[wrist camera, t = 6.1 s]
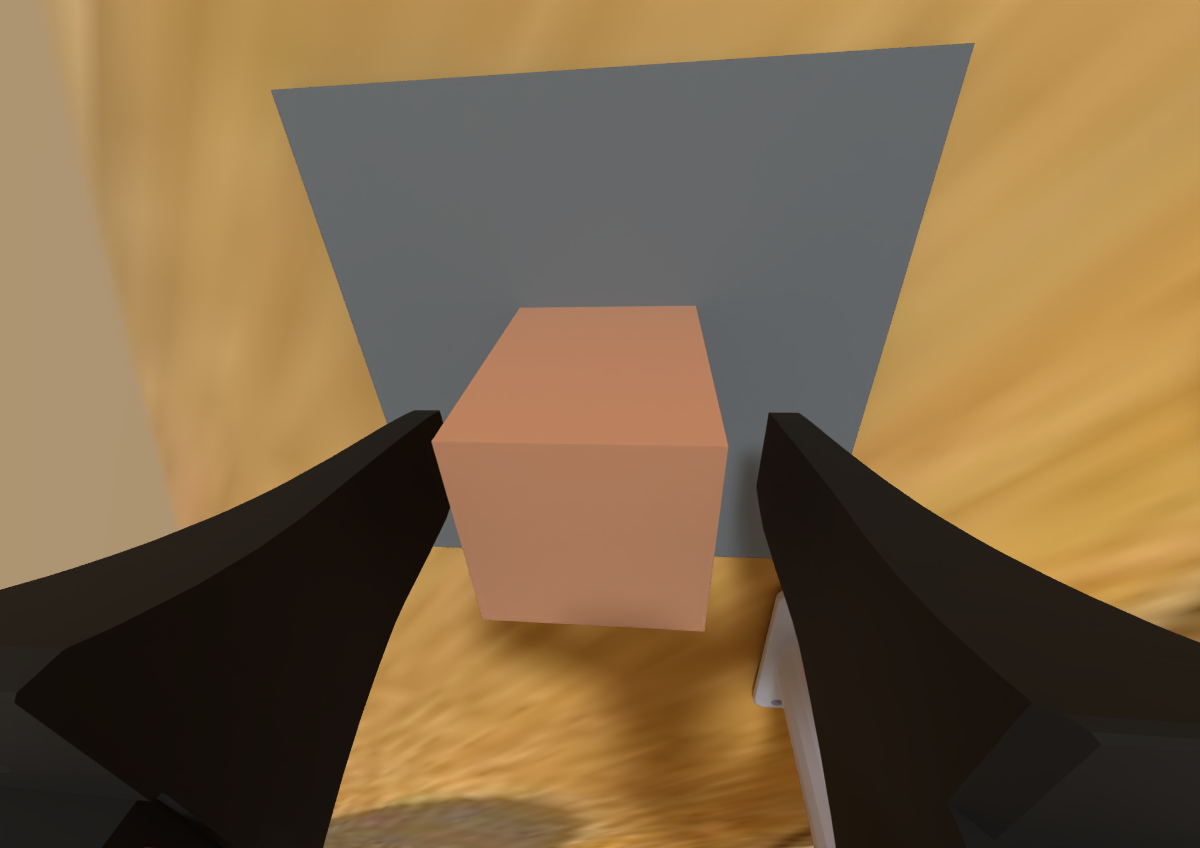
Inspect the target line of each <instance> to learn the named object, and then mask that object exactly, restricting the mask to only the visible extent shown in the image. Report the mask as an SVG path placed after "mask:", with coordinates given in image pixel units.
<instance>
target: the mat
mask: <svg viewBox="0 0 1200 848" xmlns="http://www.w3.org/2000/svg"><path fill="white" fill-rule="evenodd" d="M974 44H975V43H967V44H952V45H937V46H922V47H907V48H892V49H877V50H862V51H847V52H832V53H817V54H802V55H787V56H772V57H757V58H742V59H727V60H712V61H698V62H683V63H668V64H653V65H638V66H623V67H608V68H593V69H578V70H563V71H548V72H533V73H518V74H503V75H488V76H473V77H458V78H444V79H429V80H414V81H399V82H384V83H369V84H354V85H339V86H324V87H309V88H294V89H279V90H271V92H272V95H273V97H274V100H275V103H276V106H277V109H278V112H279V115H280V117H281V120H282V123H283V126H284V129H285V132H286V135H287V138H288V140H289V143H290V146H291V149H292V152H293V155H294V158H295V160H296V163H297V166H298V169H299V172H300V175H301V178H302V181H303V183H304V186H305V189H306V192H307V195H308V198H309V201H310V203H311V206H312V209H313V212H314V215H315V218H316V221H317V224H318V226H319V229H320V232H321V235H322V238H323V241H324V244H325V246H326V249H327V252H328V255H329V258H330V261H331V264H332V267H333V269H334V272H335V275H336V278H337V281H338V284H339V287H340V289H341V292H342V295H343V298H344V301H345V304H346V307H347V310H348V312H349V315H350V318H351V321H352V324H353V327H354V330H355V332H356V335H357V338H358V341H359V344H360V347H361V350H362V352H363V355H364V358H365V361H366V364H367V367H368V370H369V373H370V375H371V378H372V381H373V384H374V387H375V390H376V393H377V395H378V398H379V401H380V404H381V407H382V410H383V413H384V416H385V418H386V421H387V424H388V423H390V422H392V421H394V420H395V419H397V418H399V417H401V416H403V415H405V414H407V413H409V412H411V411H413V410H440V413H441V416H442V420H443V423H444V422H445V420H446V419H447V417H448V416H449V414H450V413H451V411H452V410H453V408H454V407H455V405H456V404H457V402H458V401H459V399H460V398H461V396H462V395H463V393H464V392H465V390H466V389H467V387H468V385H469V384H470V382H471V381H472V379H473V378H474V376H475V375H476V373H477V372H478V370H479V369H480V367H481V366H482V364H483V363H484V361H485V360H486V358H487V357H488V355H489V354H490V352H491V351H492V349H493V348H494V346H495V345H496V343H497V342H498V340H499V339H500V337H501V336H502V334H503V333H504V331H505V329H506V328H507V326H508V325H509V323H510V322H511V320H512V319H513V317H514V316H515V314H516V313H517V311H518V310H519V308H542V307H632V306H696V309H697V313H698V317H699V322H700V326H701V330H702V335H703V339H704V343H705V348H706V352H707V356H708V361H709V365H710V369H711V374H712V378H713V382H714V387H715V391H716V395H717V400H718V404H719V408H720V413H721V417H722V421H723V426H724V430H725V434H726V439H727V443H728V453H727V461H726V469H725V477H724V484H723V492H722V500H721V507H720V515H719V523H718V531H717V538H716V546H715V554H714V556H718V557H746V558H772V556H771V553H770V550H769V546H768V543H767V540H766V537H765V533H764V530H763V526H762V520H761V515H760V509H759V503H758V497H757V491H756V484H757V478H758V472H759V467H760V461H761V455H762V449H763V443H764V437H765V431H766V426H767V420H768V414H769V412H775V413H800V414H801V415H803V416H804V417H806V418H807V419H808V420H809V421H811V422H812V423H813V424H814V425H816V426H817V427H818V428H819V429H821V430H822V431H823V432H824V433H826V434H827V435H828V436H829V437H830V438H832V439H833V440H834V441H835V442H837V443H838V444H839V445H840V446H841V447H843V448H844V449H845V450H846V451H848V452H849V453H850V454H852V451H853V447H854V444H855V441H856V437H857V434H858V431H859V427H860V424H861V421H862V417H863V414H864V411H865V407H866V404H867V401H868V397H869V394H870V391H871V387H872V384H873V381H874V377H875V374H876V371H877V367H878V364H879V361H880V357H881V354H882V351H883V347H884V344H885V341H886V337H887V334H888V331H889V327H890V324H891V321H892V317H893V314H894V311H895V307H896V304H897V301H898V297H899V294H900V291H901V287H902V284H903V281H904V277H905V274H906V271H907V267H908V264H909V261H910V257H911V254H912V251H913V247H914V244H915V241H916V237H917V234H918V231H919V227H920V224H921V221H922V217H923V214H924V211H925V207H926V204H927V201H928V197H929V194H930V191H931V187H932V184H933V181H934V177H935V174H936V171H937V167H938V164H939V161H940V157H941V154H942V151H943V147H944V144H945V141H946V137H947V134H948V130H949V127H950V124H951V120H952V117H953V114H954V110H955V107H956V104H957V100H958V97H959V94H960V90H961V87H962V84H963V80H964V77H965V74H966V70H967V67H968V64H969V60H970V57H971V54H972V50H973V47H974ZM433 546H436V547H462V546H461V542H460V539H459V535H458V532H457V528H456V525H455V521H454V518H453V515H452V511H451V508H450V510H449V513H448V516H447V519H446V521H445V523H444V525H443V527H442V529H441V531H440V533H439V535H438V537H437V539H436V541H435V543H434V545H433Z"/></svg>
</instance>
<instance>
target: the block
mask: <svg viewBox="0 0 1200 848" xmlns="http://www.w3.org/2000/svg"><path fill="white" fill-rule="evenodd" d="M431 442H432V445H433V449H434V452H435V456H436V459H437V463H438V466H439V470H440V473H441V476H442V480H443V483H444V487H445V490H446V494H447V497H448V501H449V504H450V508H451V511H452V515H453V518H454V521H455V525H456V528H457V532H458V535H459V539H460V542H461V546H462V549H463V553H464V556H465V559H466V563H467V566H468V570H469V573H470V577H471V580H472V584H473V587H474V591H475V594H476V597H477V601H478V604H479V608H480V611H481V615H482V618H483V620H501V621H520V622H538V623H557V624H575V625H593V626H612V627H630V628H649V629H667V630H686V631H705V624H706V616H707V608H708V600H709V593H710V585H711V577H712V569H713V562H714V554H715V546H716V538H717V531H718V523H719V515H720V507H721V500H722V492H723V484H724V477H725V469H726V461H727V453H728V443H727V439H726V434H725V430H724V426H723V421H722V417H721V413H720V408H719V404H718V400H717V395H716V391H715V387H714V382H713V378H712V374H711V369H710V365H709V361H708V356H707V352H706V348H705V343H704V339H703V335H702V330H701V326H700V322H699V317H698V313H697V309H696V306H632V307H542V308H519V310H518V311H517V313H516V314H515V316H514V317H513V319H512V320H511V322H510V323H509V325H508V326H507V328H506V329H505V331H504V333H503V334H502V336H501V337H500V339H499V340H498V342H497V343H496V345H495V346H494V348H493V349H492V351H491V352H490V354H489V355H488V357H487V358H486V360H485V361H484V363H483V364H482V366H481V367H480V369H479V370H478V372H477V373H476V375H475V376H474V378H473V379H472V381H471V382H470V384H469V385H468V387H467V389H466V390H465V392H464V393H463V395H462V396H461V398H460V399H459V401H458V402H457V404H456V405H455V407H454V408H453V410H452V411H451V413H450V414H449V416H448V417H447V419H446V420H445V422H444V423H443V425H442V426H441V428H440V429H439V431H438V432H437V434H436V435H435V437H434V438H433V440H432V441H431Z"/></svg>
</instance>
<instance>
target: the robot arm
mask: <svg viewBox="0 0 1200 848" xmlns="http://www.w3.org/2000/svg"><path fill="white" fill-rule="evenodd" d="M442 425H443V420H442V416H441V413H440V410H413V411H411V412H409V413H407V414H405V415H403V416H401V417H399V418H397V419H395V420H394V421H392V422H390V423H388V424H387V425H385V426H383V427H382V428H380V429H378V430H376V431H375V432H373V433H371V434H370V435H368V436H366V437H365V438H363V439H361V440H360V441H358V442H356V443H355V444H353V445H351V446H350V447H348V448H346V449H345V450H343V451H341V452H340V453H338V454H336V455H334V456H333V457H331V458H329V459H327V460H326V461H324V462H322V463H320V464H318V465H317V466H315V467H313V468H311V469H309V470H308V471H306V472H304V473H302V474H300V475H299V476H297V477H295V478H293V479H291V480H290V481H288V482H286V483H284V484H282V485H280V486H278V487H276V488H274V489H272V490H270V491H268V492H266V493H264V494H262V495H260V496H258V497H256V498H254V499H252V500H249V501H247V502H245V503H243V504H241V505H239V506H236V507H234V508H232V509H230V510H228V511H226V512H223V513H221V514H219V515H216V516H214V517H211V518H209V519H207V520H204V521H202V522H199V523H197V524H194V525H192V526H189V527H187V528H184V529H182V530H179V531H177V532H174V533H172V534H169V535H167V536H164V537H162V538H159V539H157V540H154V541H151V542H149V543H146V544H143V545H140V546H138V547H135V548H132V549H129V550H126V551H123V552H121V553H118V554H115V555H112V556H109V557H106V558H103V559H100V560H97V561H94V562H91V563H88V564H85V565H82V566H79V567H76V568H73V569H70V570H67V571H63V572H60V573H57V574H54V575H50V576H47V577H44V578H40V579H37V580H33V581H30V582H26V583H22V584H19V585H15V586H12V587H8V588H5V589H1V590H0V848H323V846H324V842H325V838H326V835H327V831H328V827H329V824H330V820H331V817H332V813H333V809H334V806H335V802H336V799H337V795H338V791H339V788H340V784H341V781H342V777H343V774H344V770H345V767H346V764H347V761H348V758H349V754H350V751H351V748H352V745H353V742H354V738H355V735H356V732H357V729H358V726H359V722H360V719H361V716H362V713H363V710H364V707H365V705H366V702H367V699H368V696H369V693H370V690H371V687H372V684H373V681H374V679H375V676H376V673H377V670H378V667H379V664H380V662H381V659H382V657H383V654H384V651H385V649H386V646H387V643H388V641H389V638H390V635H391V633H392V630H393V628H394V625H395V622H396V620H397V618H398V616H399V614H400V611H401V609H402V607H403V605H404V603H405V601H406V599H407V597H408V595H409V593H410V591H411V589H412V587H413V585H414V583H415V581H416V579H417V577H418V575H419V573H420V571H421V569H422V567H423V565H424V563H425V561H426V559H427V557H428V555H429V553H430V551H431V549H432V547H433V545H434V543H435V541H436V539H437V537H438V535H439V533H440V531H441V529H442V527H443V525H444V523H445V521H446V519H447V516H448V513H449V510H450V504H449V501H448V497H447V494H446V490H445V487H444V483H443V480H442V476H441V473H440V470H439V466H438V463H437V459H436V456H435V452H434V449H433V445H432V442H431V441H432V440H433V438H434V437H435V435H436V434H437V432H438V431H439V429H440V428H441V426H442ZM756 491H757V497H758V503H759V509H760V515H761V520H762V526H763V530H764V533H765V537H766V540H767V543H768V546H769V550H770V553H771V556H772V559H773V562H774V566H775V569H776V572H777V575H778V578H779V581H780V584H781V587H782V591H781V592H779V593H778V595H777V596H776V600H775V604H774V608H773V613H772V617H771V621H770V625H769V629H768V633H767V637H766V642H765V646H764V650H763V654H762V658H761V662H760V666H759V671H758V675H757V679H756V683H755V687H754V691H753V697H754V702H755V703H756V704H757V705H759V706H762V707H773V708H783V709H784V713H785V718H786V722H787V727H788V731H789V736H790V740H791V745H792V749H793V754H794V758H795V763H796V767H797V772H798V776H799V781H800V785H801V790H802V794H803V799H804V803H805V808H806V812H807V817H808V821H809V826H810V830H811V835H812V839H813V844H814V848H1200V643H1199V642H1197V641H1194V640H1192V639H1189V638H1186V637H1184V636H1181V635H1179V634H1176V633H1174V632H1171V631H1169V630H1166V629H1164V628H1161V627H1159V626H1157V625H1154V624H1152V623H1150V622H1147V621H1145V620H1143V619H1141V618H1138V617H1136V616H1134V615H1131V614H1129V613H1127V612H1125V611H1122V610H1120V609H1118V608H1116V607H1113V606H1111V605H1109V604H1107V603H1104V602H1102V601H1100V600H1098V599H1095V598H1093V597H1091V596H1089V595H1086V594H1084V593H1082V592H1080V591H1078V590H1076V589H1074V588H1072V587H1070V586H1067V585H1065V584H1063V583H1061V582H1059V581H1057V580H1055V579H1053V578H1051V577H1049V576H1047V575H1045V574H1043V573H1041V572H1039V571H1037V570H1035V569H1033V568H1031V567H1029V566H1027V565H1025V564H1023V563H1021V562H1019V561H1017V560H1015V559H1013V558H1011V557H1010V556H1008V555H1006V554H1004V553H1002V552H1000V551H998V550H996V549H994V548H993V547H991V546H989V545H987V544H985V543H983V542H982V541H980V540H978V539H976V538H974V537H973V536H971V535H969V534H968V533H966V532H964V531H963V530H961V529H959V528H958V527H956V526H954V525H953V524H951V523H949V522H948V521H946V520H944V519H943V518H941V517H939V516H938V515H936V514H934V513H933V512H931V511H930V510H928V509H927V508H925V507H923V506H922V505H920V504H919V503H917V502H916V501H914V500H913V499H911V498H910V497H909V496H907V495H906V494H904V493H903V492H901V491H900V490H899V489H897V488H896V487H894V486H893V485H891V484H890V483H888V482H887V481H886V480H884V479H883V478H882V477H880V476H879V475H878V474H876V473H875V472H873V471H872V470H871V469H870V468H868V467H867V466H866V465H864V464H863V463H862V462H860V461H859V460H858V459H857V458H855V457H854V456H853V455H851V454H850V453H849V452H848V451H846V450H845V449H844V448H843V447H841V446H840V445H839V444H838V443H837V442H835V441H834V440H833V439H832V438H830V437H829V436H828V435H827V434H826V433H824V432H823V431H822V430H821V429H819V428H818V427H817V426H816V425H814V424H813V423H812V422H811V421H809V420H808V419H807V418H806V417H804V416H803V415H801V414H800V413H775V412H769V414H768V420H767V426H766V431H765V437H764V443H763V449H762V455H761V461H760V467H759V472H758V478H757V484H756Z"/></svg>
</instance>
